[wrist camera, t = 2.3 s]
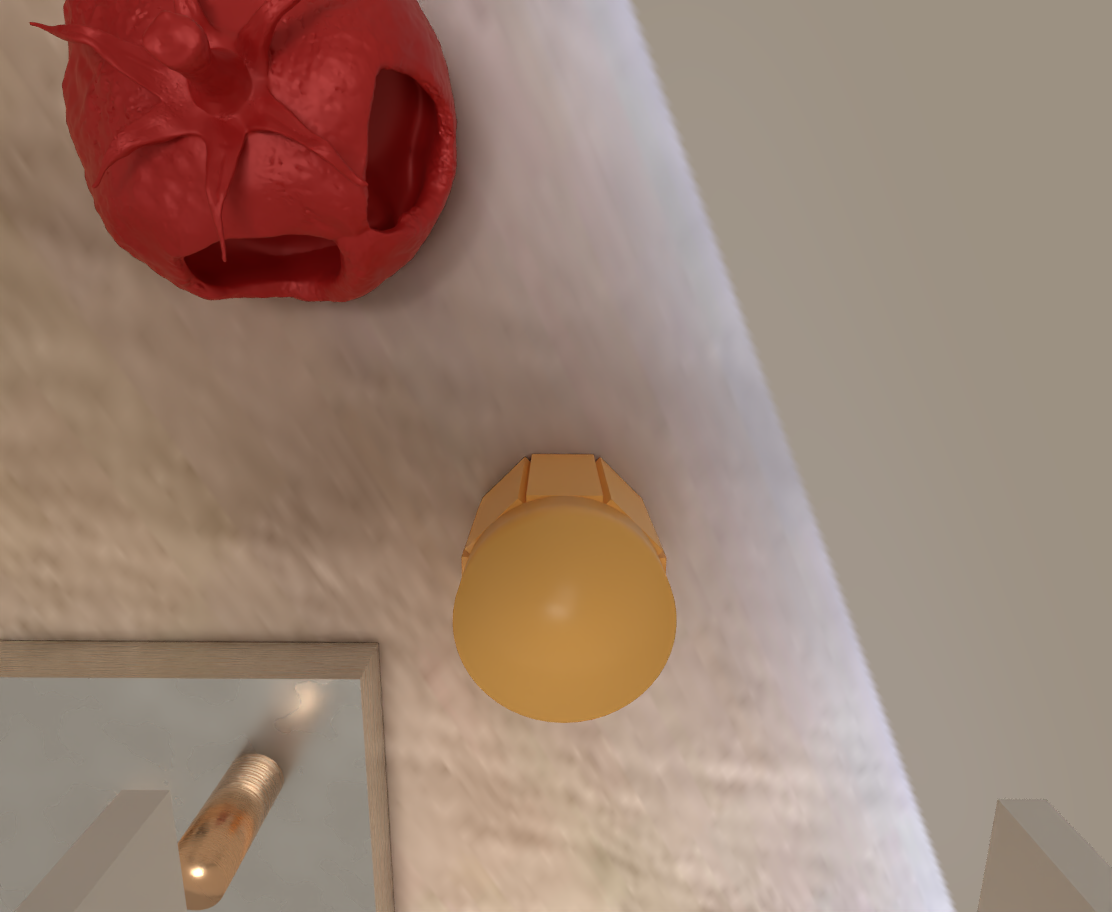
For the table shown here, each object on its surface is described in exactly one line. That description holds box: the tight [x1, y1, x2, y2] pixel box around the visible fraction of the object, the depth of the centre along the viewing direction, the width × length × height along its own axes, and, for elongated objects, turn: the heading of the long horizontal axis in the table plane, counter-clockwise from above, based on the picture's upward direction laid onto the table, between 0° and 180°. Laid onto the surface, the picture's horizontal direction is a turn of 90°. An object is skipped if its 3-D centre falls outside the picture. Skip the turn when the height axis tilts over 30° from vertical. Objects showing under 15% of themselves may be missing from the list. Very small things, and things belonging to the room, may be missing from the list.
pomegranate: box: [29, 0, 457, 302], centre depth 18 cm, size 10×10×9 cm
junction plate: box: [0, 641, 394, 912], centre depth 24 cm, size 15×18×7 cm
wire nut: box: [453, 454, 676, 723], centre depth 22 cm, size 6×6×7 cm
